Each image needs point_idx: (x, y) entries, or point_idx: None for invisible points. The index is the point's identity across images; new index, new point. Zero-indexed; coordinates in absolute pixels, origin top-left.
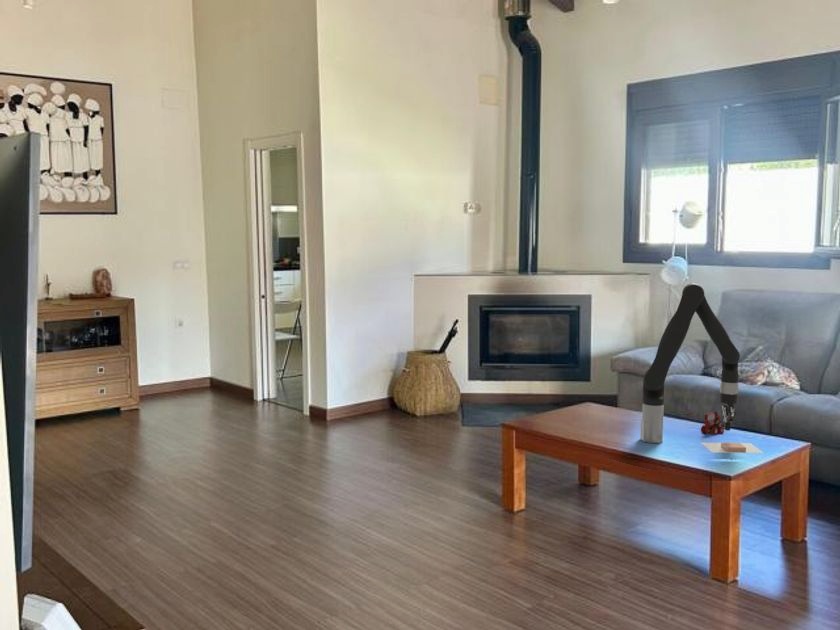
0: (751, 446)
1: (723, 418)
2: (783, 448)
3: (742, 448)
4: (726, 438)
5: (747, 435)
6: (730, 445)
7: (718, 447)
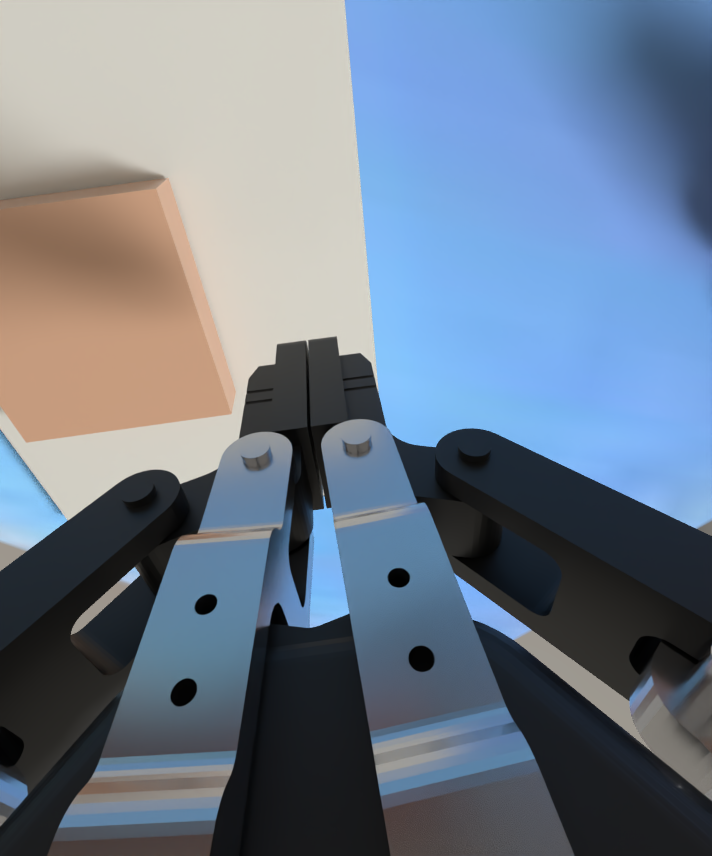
0: None
1: (438, 447)
2: (332, 614)
3: (9, 405)
4: (631, 334)
5: (675, 496)
6: (30, 295)
7: (81, 123)
